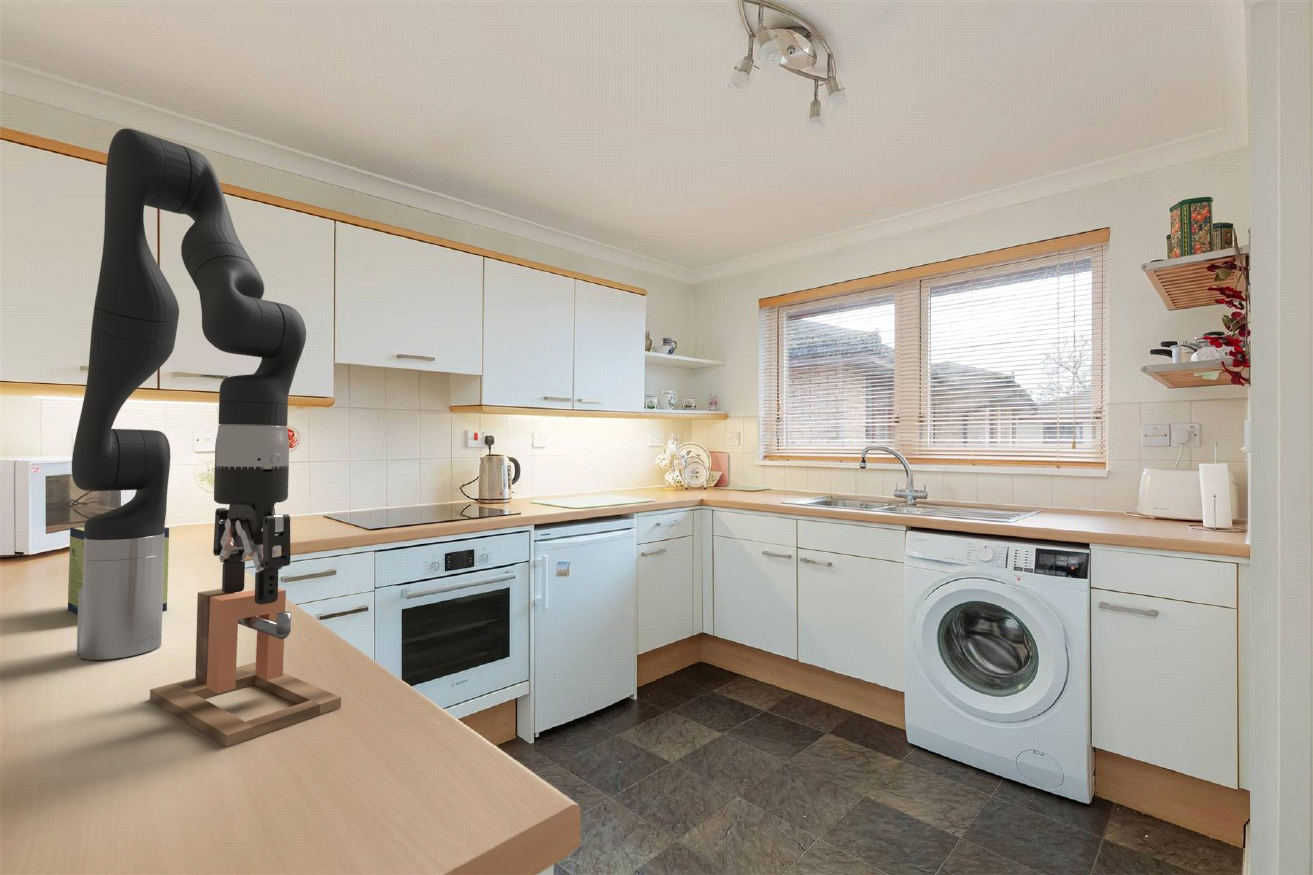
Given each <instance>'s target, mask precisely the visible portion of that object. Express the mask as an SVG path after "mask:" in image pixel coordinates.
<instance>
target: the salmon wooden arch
mask: <svg viewBox="0 0 1313 875" xmlns="http://www.w3.org/2000/svg"><path fill="white" fill-rule="evenodd" d="M286 594H287V590H286V589H284V588H283V589H282V588H279V587H278V599H277V600H276V601H275V602H273V603H268V604H262V605H260V604H257V603H255V589H253V590H247V591H241V592H236V593H233V594H227V595H220V596H213V597H210V617H209V641H208V664H207V688H208V689H210V690H212V691H214V692H216V693H221V692H225V691H229V690H233V689H235V685H236V667H237V659H238V658H237V657H238V635H239V634H238V630H239V624H238V619H243V618H249V617H254V616H257V617H260V618H263V619H266V620H269V621H272V622H274V623H276V621H277V613H280V612H286V601H287V600H286V597H287V596H286ZM255 648H256V651H255V652H256V653H255V662H256V673H255V675H256V676H259V677H261V678H263V679H265V680H270V679H274V678H278V677H281V676H283V673H284V656H285V654H284V650H285V639H279V638H276V637H273V636H270V635H268V634H265V633H262V632H259V631H257V630H256V647H255ZM233 691H234V690H233ZM229 692H230V691H229ZM225 693H226V692H225Z"/></svg>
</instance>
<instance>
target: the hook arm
mask: <svg viewBox="0 0 1313 875" xmlns="http://www.w3.org/2000/svg"><path fill="white" fill-rule="evenodd" d="M238 625H241V626H244V627H247V628H249V629H251V630H254V631H256V632H257V631H259V632H262V633H265V634H268V635H270V636H273V637H276V638H279V639H284V640H285V639H287V638H288V637H289V635H290V633H291V632H292V630H291V629H292V627H291V626H292V612H291V611H285V612H280V613H277V621H276V623H274V622H272V621H269V620H266V619H263V618H260V617H258V616H254V617H249V618H243V619H238Z"/></svg>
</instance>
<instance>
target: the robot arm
mask: <svg viewBox="0 0 1313 875" xmlns="http://www.w3.org/2000/svg"><path fill="white" fill-rule="evenodd" d="M106 159H107V160H106V169H105V170H106V172H105V192H104V193H105V196H104V198H105V199H104V227H103V246H102V252H101V254H102V255H101V261H100V269H99V270H100V271H99V275H98V282H97V288H96V294H95V300H94V306H93V314H92V320H91V329H90V330H91V332H90V345H89V359H88V370H87V378H86V386H85V392H84V397H83V401H82V406H81V409H80V410H81V411H80V416H79V419H78V425H77V431H76V435H75V440H74V445H73V450H72V456H71V475H72V480H73V483H74V485H76V487H77V488H78V489H80V490H82V491H86V492H109V491H110V492H113V491H135V494H134V496H133V498H131V499H130V500H129V501H128V502H126V503H124V504H123V505H120V506H119V507H116V508H114V509H111V510H109V511H106V512H103V513H100V514H96V515H93V516H91V517H89V518H87V520H85V523H84V537H85V538H84V555H83V558H84V559H83V588H81V589H80V590H79V592H78V614H77V629H76V630H77V632H76V654H78V655H79V654H80V655H79V656H80V658H81V659H83V660H89V661H92V660H93V661H100V660H101V661H102V660H105V661H106V660H115V659H121V658H127V657H132V656H137V655H141V654H145V653H148V652H151V651H153V650H156V649H157V648H159V647H161V645H162V638H163V636H162V634H163V632H162V631H163V629H162V628H163V612H164V611H163V575H164V536H165V533H164V532H165V527H166V516H167V507H168V506H167V503H168V502H167V500H168V491H169V490H168V489H169V488H168V487H169V478H170V470H171V469H170V468H171V447H170V441H169V439H168V437H167V435H166V434H165V433H164V432H162V431H160V430H156V429H154V430H153V429H135V428H132V429H131V428H113V425H114V423H115V421H116V418H117V415H118V414H119V412H120V410H121V409H122V407H123V406H124V404H125V403H126V401H127V400H128V399H129V398H130V397H131V395H133V393H134V392H135V391H136V390H137V389H138V388H139V387H140V386H141V385H142V384H144V383H145V382H146V381H147V380H148V379H149V378H151V377H152V375H154V374H155V373H156V372H157V371H158V370H159V369H160V368H161V367H163V365H165V363H166V362H167V361H168V360H169V358H170V356H171V355H172V353H173V351H174V349H175V343H176V336H177V332H178V326H179V324H178V323H179V318H180V307H179V303H178V299H177V297H176V295H175V293H174V291H173V289H172V287H171V285H170V284H169V282H168V280H167V278H166V276H165V275H164V273H163V271H162V269H161V268H160V266H159V264H158V263H157V261H156V259H155V257H154V255H153V253H152V250H151V249H150V245H149V244H148V239H147V235H146V231H145V220H144V214H145V213H144V211H145V206H146V207H150V208H154V209H158V210H163V211H166V212H169V213H170V212H171V213H173V214H177V215H178V214H179V215H186V216H188V217H190V218H191V219H192V220H193V221H194V222H193V223H192V225H190V227H189V228H188V230H187V231H186V232H185V234H184V236H183V237H182V242H181V246H180V249H181V250H180V251H181V252H180V255H181V259H182V262H183V265H184V267H185V269H186V271H187V272H188V275H189V276H190V278H191V280H192V282H193V283H194V285H195V287H196V288H197V291H198V294H199V301H200V308H201V329H202V333H203V335H204V338H205V339H206V340H207V341H208V343H210V344H211V345H212V346H213V347H214V348H216V350H217V349H218V350H219V351H221V352H223V353H227V354H233V355H240V356H246V357H247V356H248V357H256V358H261V361H260V363H259V366H258V368H257V369H256V371H255V372H254V373H251V374H240V375H231V376H227V377H226V378H224V379H223V380H222V381H221V382H220V385H219V394H218V396H219V399H218V425H217V434H216V437H215V445H214V446H215V447H214V472H213V473H214V474H213V476H214V478H213V479H214V480H213V501H214V502H215V503H217V504H219V505H229V506H228V507H218V508H216V510H215V512H214V513H215V514H214V527H213V528H214V531H213V532H214V533H213V548H212V554H213V555H214V557H215V556H216V557H218V556H219V557H218V558H219V562H220V563H222V576H221V580H222V581H221V589H222V591H223V592H224V593H227V594H230V593H240V592H244V589H245V577H246V576H245V573H246V572H245V571H246V561H245V559H246V557H247V556H248V557H250V558H252V561H253V565H254V568H255V574H254V575H255V576H254V590H255V603H257V604H260V605H262V604H268V603H273V602H275V601H276V600H277V599H278V588H279V570H282V568H283V567H288V566H290V564H291V516H290V515H289V514H288V513H287V514H276V509H275V505H276V504H277V503H284V502H286V501H288V498H289V474H290V472H289V470H290V466H289V464H290V441H289V432H288V430H289V429H288V418H289V416H288V415H289V411H288V409H289V406H288V405H289V394H290V389H291V388H292V383H293V380H294V377H295V374H296V370H297V367H298V364H299V362H300V359H301V358H302V357H301V356H302V354H303V351H304V348H305V344H306V340H307V329H306V324H305V322H304V318H303V317H302V315H301V314H300V312H299V311H298V310H297V309H296V308H294V307H292V306H291V305H288V304H284V303H282V302H281V303H279V302H276V301H271V300H266V299H263V297H264V293H265V284H264V280H263V277H262V276H261V274H260V272H259V270H258V269H257V267H256V265H255V263H254V262H253V261H252V259H251V257H250V255H249V254H248V252H247V251H246V249H245V247H244V245H243V244H242V243H241V241H240V239H239V237H238V235H237V232H236V229H235V227H234V224H233V220H232V216H231V214H230V210H229V208H228V203H227V201H226V198H225V195H224V192H223V189H222V186H221V183H220V181H219V178H218V175H217V173H216V171H215V169H214V166H213V165H212V164H211V162H210V161H209V159H208V158H207V157H206V156H205V155H203V154H202V153H200V152H199V151H197V150H195V149H192V148H190V147H187V146H185V145H182V144H179V143H177V142H176V143H175V142H173V141H170V140H167V139H164V138H161V137H158V136H155V135H152V134H149V133H146V132H144V131H140V130H137V129H133V128H128V127H126V128H121V129H119V130H118V131H116V133H115V134H114V135H113V137H112V139H111V141H110V144H109V149H108V153H107V158H106ZM280 550H281V551H280Z"/></svg>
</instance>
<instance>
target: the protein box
mask: <svg viewBox="0 0 1313 875" xmlns="http://www.w3.org/2000/svg"><path fill="white" fill-rule="evenodd" d="M84 526H85V525H84ZM84 526H74V527H73V526H72V527H70V530H69V553H68V554H69V556H68V558H69V561H68V585H67V586H68V588H67V589H68V590H67V591H68V592H67V611H70V612H72V613H73V614H76V615H78V592H79V590H80V589H81V588H83V559H84V558H83V555H84V538H85V537H84ZM164 533H165V536H164V575H163V611H162V612H167V611H168V588H169V587H168V580H169V551H170V550H169V549H170V528H169V527H166V526H165V532H164Z"/></svg>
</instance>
